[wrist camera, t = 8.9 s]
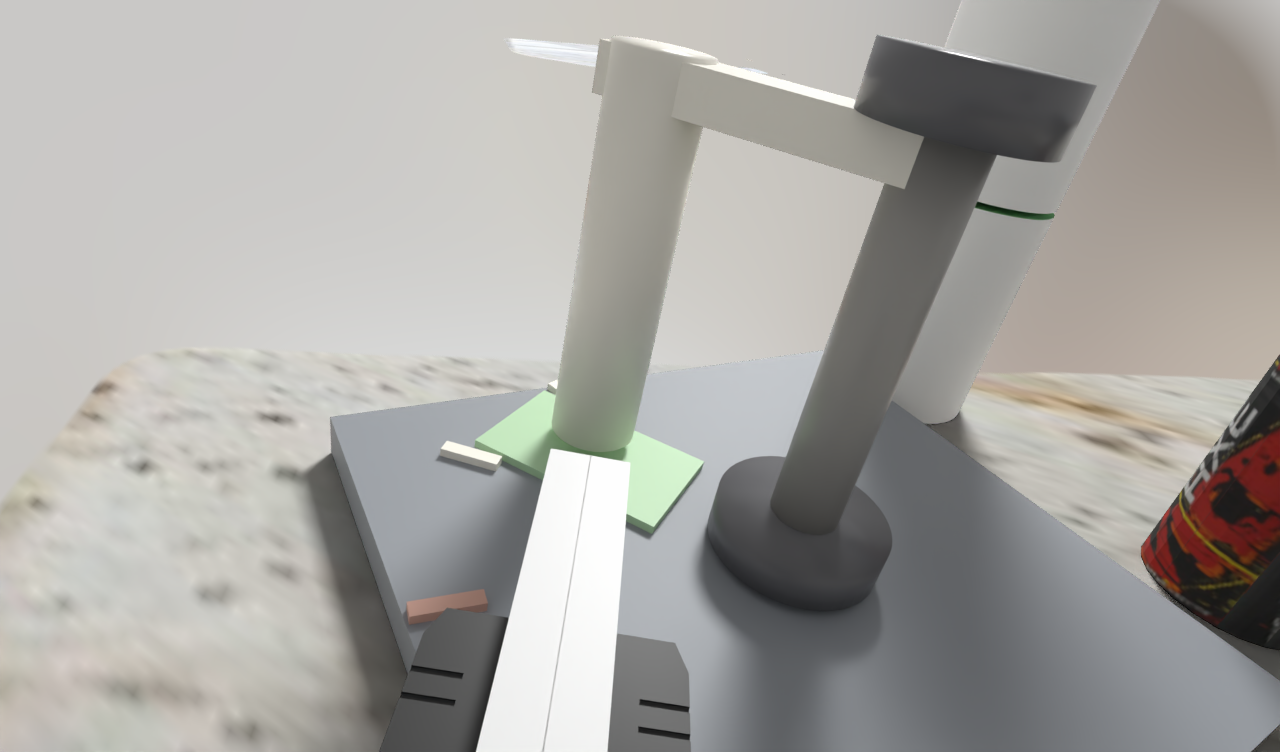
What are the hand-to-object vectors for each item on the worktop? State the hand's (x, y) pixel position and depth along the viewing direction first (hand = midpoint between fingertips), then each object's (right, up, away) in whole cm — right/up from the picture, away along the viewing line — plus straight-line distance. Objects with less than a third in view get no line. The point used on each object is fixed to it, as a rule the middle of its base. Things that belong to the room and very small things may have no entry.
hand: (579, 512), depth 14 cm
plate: (+6, -4, +11) cm, 13 cm away
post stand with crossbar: (+3, -1, +11) cm, 11 cm away
